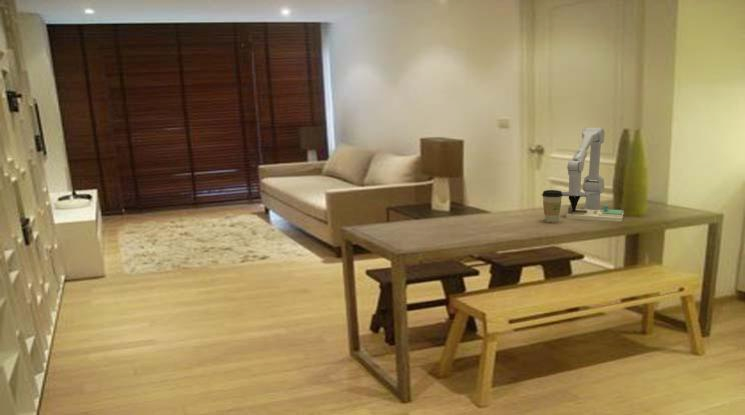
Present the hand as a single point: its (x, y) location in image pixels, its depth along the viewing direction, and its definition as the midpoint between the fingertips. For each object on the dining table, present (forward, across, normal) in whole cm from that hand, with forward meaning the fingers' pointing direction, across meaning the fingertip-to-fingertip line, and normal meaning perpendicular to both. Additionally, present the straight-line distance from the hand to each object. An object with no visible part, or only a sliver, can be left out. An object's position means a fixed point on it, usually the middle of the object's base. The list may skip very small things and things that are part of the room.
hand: (574, 210), depth 311 cm
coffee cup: (+4, -9, -12) cm, 16 cm away
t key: (+1, +2, +3) cm, 4 cm away
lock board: (+3, +10, +4) cm, 11 cm away
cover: (+1, +18, +2) cm, 18 cm away
